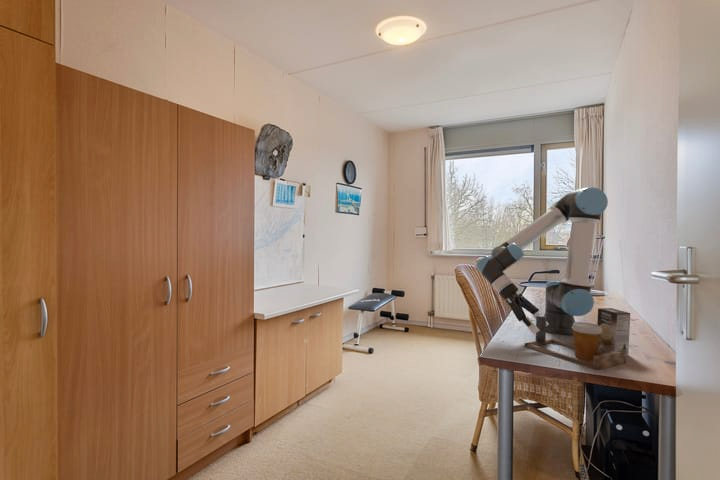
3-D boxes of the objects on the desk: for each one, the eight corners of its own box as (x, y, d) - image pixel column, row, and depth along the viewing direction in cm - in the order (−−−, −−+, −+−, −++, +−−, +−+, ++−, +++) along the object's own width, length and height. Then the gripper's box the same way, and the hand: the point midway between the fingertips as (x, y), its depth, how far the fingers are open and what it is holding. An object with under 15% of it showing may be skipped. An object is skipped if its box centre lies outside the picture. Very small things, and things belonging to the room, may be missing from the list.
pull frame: (549, 340, 156) (550, 313, 156) (626, 362, 131) (627, 330, 131) (522, 345, 148) (523, 317, 148) (597, 369, 123) (599, 336, 122)
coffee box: (595, 348, 147) (596, 307, 146) (609, 348, 148) (610, 307, 147) (614, 356, 138) (616, 312, 137) (629, 355, 139) (631, 312, 138)
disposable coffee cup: (606, 363, 129) (607, 329, 129) (576, 361, 131) (577, 327, 131) (594, 355, 138) (596, 323, 138) (566, 353, 140) (567, 321, 140)
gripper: (508, 290, 171) (543, 329, 161) (487, 296, 152) (524, 340, 142) (521, 279, 167) (557, 318, 158) (500, 284, 148) (540, 329, 139)
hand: (541, 329), depth 150 cm, fingers open, 13 cm apart
